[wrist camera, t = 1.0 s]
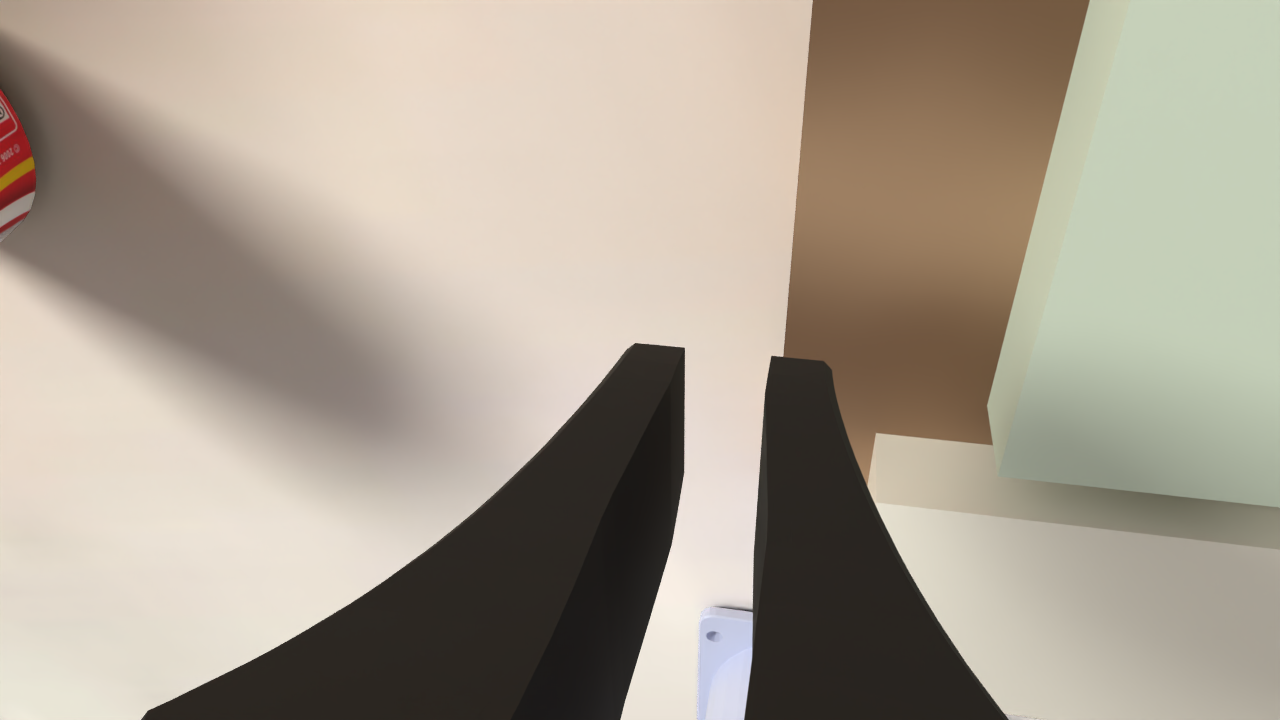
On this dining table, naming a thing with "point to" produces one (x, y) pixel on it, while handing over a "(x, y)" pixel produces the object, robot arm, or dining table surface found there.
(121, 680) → the dining table surface
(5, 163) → the soda can
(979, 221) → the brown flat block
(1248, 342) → the pale green block
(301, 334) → the dining table surface
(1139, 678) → the off-white flat block
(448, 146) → the dining table surface
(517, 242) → the dining table surface
